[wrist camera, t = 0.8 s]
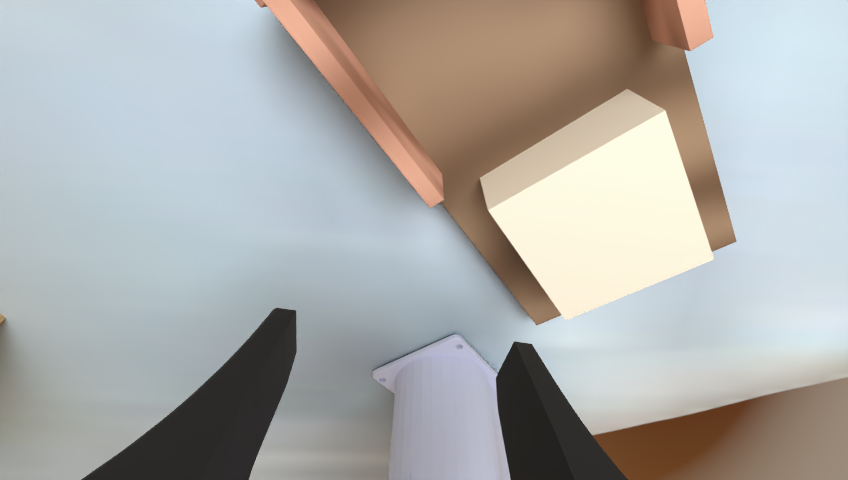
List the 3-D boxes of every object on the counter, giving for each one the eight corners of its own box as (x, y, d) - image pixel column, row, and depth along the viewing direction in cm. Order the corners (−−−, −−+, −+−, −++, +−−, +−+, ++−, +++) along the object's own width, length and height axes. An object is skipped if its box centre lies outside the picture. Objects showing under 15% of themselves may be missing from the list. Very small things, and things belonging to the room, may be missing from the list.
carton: (677, 222, 19) (714, 259, 16) (550, 281, 21) (565, 320, 19) (627, 88, 15) (665, 110, 13) (479, 177, 18) (487, 210, 15)
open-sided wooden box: (718, 225, 21) (772, 271, 18) (531, 308, 25) (547, 358, 21) (559, -305, 10) (618, -434, 7) (282, -19, 14) (240, -18, 11)
